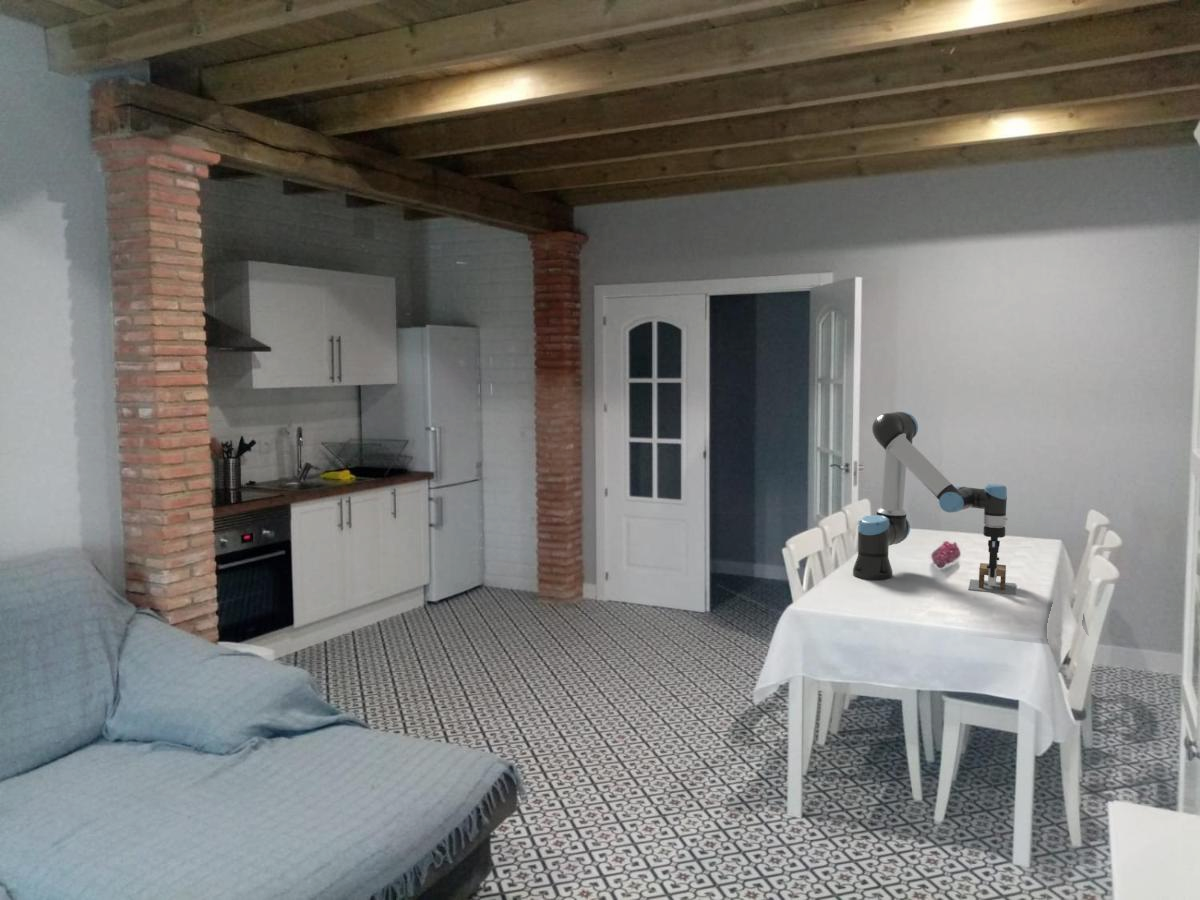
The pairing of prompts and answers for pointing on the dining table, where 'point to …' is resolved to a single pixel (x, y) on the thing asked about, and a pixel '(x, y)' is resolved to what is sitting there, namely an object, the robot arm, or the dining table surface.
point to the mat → (992, 587)
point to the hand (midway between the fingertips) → (992, 581)
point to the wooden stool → (1000, 572)
